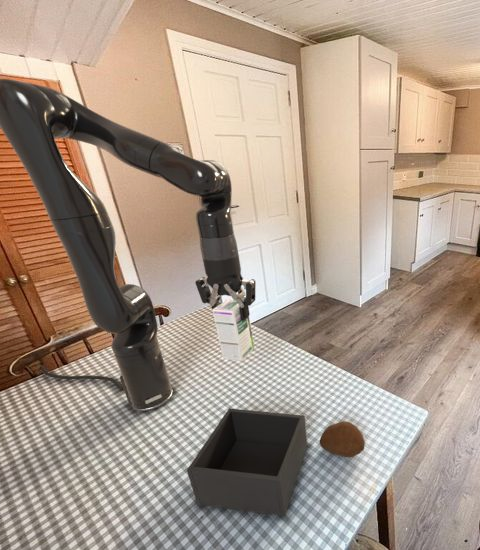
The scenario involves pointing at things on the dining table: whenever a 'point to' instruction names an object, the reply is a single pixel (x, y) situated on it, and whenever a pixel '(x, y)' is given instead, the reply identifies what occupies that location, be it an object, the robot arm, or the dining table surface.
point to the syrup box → (233, 331)
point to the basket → (250, 462)
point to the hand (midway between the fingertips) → (232, 318)
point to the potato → (342, 439)
